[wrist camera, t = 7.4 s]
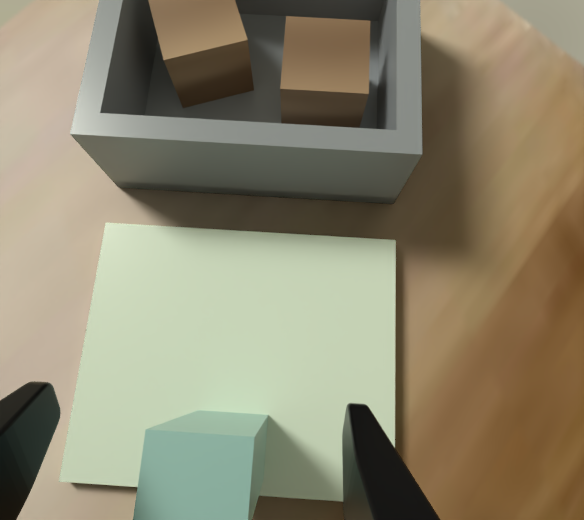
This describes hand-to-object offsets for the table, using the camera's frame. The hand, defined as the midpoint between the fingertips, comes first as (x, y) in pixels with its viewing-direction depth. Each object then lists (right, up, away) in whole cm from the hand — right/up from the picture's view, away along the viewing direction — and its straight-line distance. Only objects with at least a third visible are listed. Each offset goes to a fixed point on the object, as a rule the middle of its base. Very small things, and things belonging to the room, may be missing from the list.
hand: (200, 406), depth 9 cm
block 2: (+3, +9, +9) cm, 14 cm away
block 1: (-1, +11, +10) cm, 15 cm away
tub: (+1, +10, +9) cm, 14 cm away
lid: (0, 0, +7) cm, 7 cm away
